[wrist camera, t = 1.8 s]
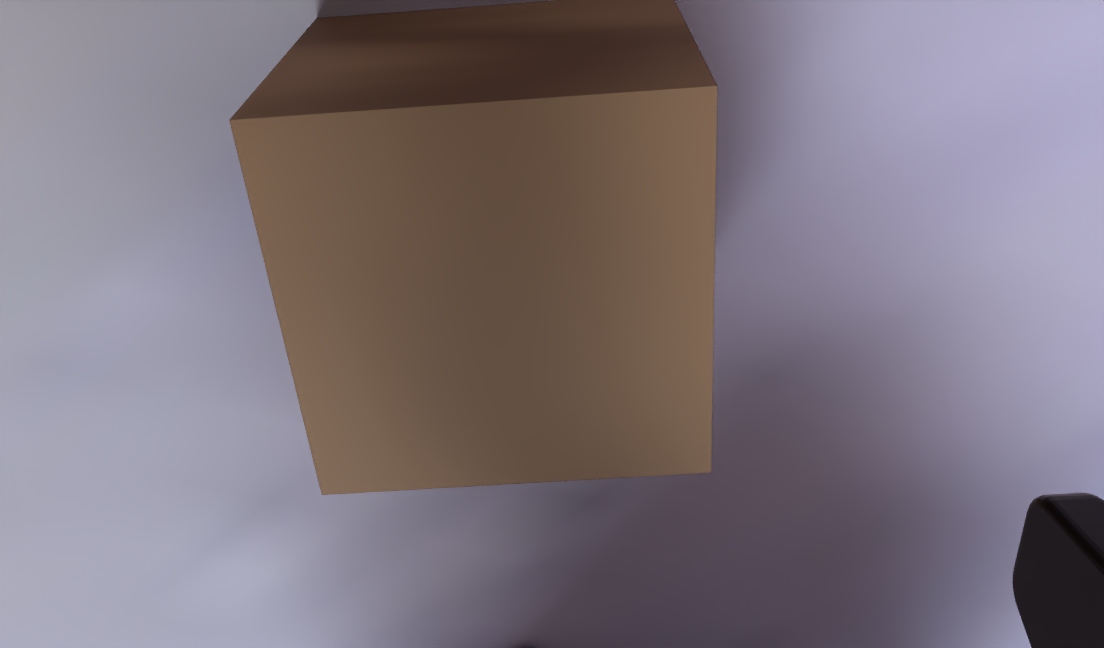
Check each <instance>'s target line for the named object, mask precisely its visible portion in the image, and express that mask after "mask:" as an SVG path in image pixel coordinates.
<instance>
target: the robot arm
mask: <svg viewBox="0 0 1104 648" xmlns="http://www.w3.org/2000/svg"><path fill="white" fill-rule="evenodd" d="M1013 591H1014V596H1015V601H1016V604H1017V607H1018V610H1019V613H1020V616H1021V619H1022V622H1023V624H1024V627H1025V630H1026V633H1027V636H1028V639H1029V642H1030V644H1031V647H1032V648H1104V500H1103V499H1101V498H1099V497H1097V496H1095V495H1092V494H1088V493H1069V494H1051V495H1042V496H1039V497H1037V498H1035V499H1034V500H1033V501H1032V503H1031V504H1030V506H1029V508H1028V511H1027V515H1026V519H1025V523H1024V527H1023V532H1022V536H1021V540H1020V544H1019V549H1018V553H1017V557H1016V562H1015V566H1014V571H1013Z"/></svg>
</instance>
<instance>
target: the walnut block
mask: <svg viewBox="0 0 1104 648" xmlns="http://www.w3.org/2000/svg"><path fill="white" fill-rule="evenodd" d="M230 124H231V128H232V133H233V137H234V141H235V145H236V149H237V153H238V157H239V161H240V165H241V169H242V173H243V177H244V181H245V185H246V189H247V193H248V197H249V201H250V206H251V210H252V214H253V218H254V222H255V226H256V230H257V234H258V238H259V242H260V246H261V250H262V254H263V258H264V262H265V266H266V270H267V274H268V279H269V283H270V287H271V291H272V295H273V299H274V303H275V307H276V311H277V315H278V319H279V323H280V327H281V331H282V335H283V339H284V343H285V347H286V352H287V356H288V360H289V364H290V368H291V372H292V376H293V380H294V384H295V388H296V392H297V396H298V400H299V404H300V408H301V412H302V416H303V420H304V425H305V429H306V433H307V437H308V441H309V445H310V449H311V453H312V457H313V461H314V465H315V469H316V473H317V477H318V481H319V485H320V489H321V493H322V495H328V494H345V493H363V492H380V491H398V490H415V489H432V488H450V487H467V486H485V485H502V484H520V483H537V482H555V481H572V480H589V479H607V478H624V477H642V476H659V475H677V474H694V473H711V456H712V393H713V329H714V265H715V202H716V138H717V84H716V82H715V80H714V78H713V76H712V74H711V72H710V70H709V68H708V66H707V64H706V62H705V60H704V58H703V56H702V54H701V52H700V50H699V48H698V46H697V44H696V42H695V40H694V38H693V36H692V34H691V32H690V30H689V28H688V26H687V24H686V22H685V20H684V18H683V16H682V15H681V13H680V11H679V9H678V7H677V5H676V3H675V1H674V0H557V1H543V2H530V3H516V4H502V5H489V6H475V7H462V8H448V9H435V10H421V11H408V12H394V13H380V14H367V15H353V16H340V17H326V18H317V19H316V20H315V21H314V22H313V23H312V24H311V26H310V27H309V28H308V29H307V30H306V31H305V33H304V34H303V35H302V36H301V37H300V38H299V40H298V41H297V42H296V43H295V44H294V45H293V47H292V48H291V49H290V50H289V51H288V52H287V54H286V55H285V56H284V57H283V58H282V59H281V61H280V62H279V63H278V64H277V65H276V66H275V68H274V69H273V70H272V71H271V72H270V73H269V75H268V76H267V77H266V78H265V79H264V80H263V82H262V83H261V84H260V85H259V86H258V87H257V89H256V90H255V91H254V92H253V93H252V94H251V96H250V97H249V98H248V99H247V100H246V101H245V103H244V104H243V105H242V106H241V107H240V108H239V110H238V111H237V112H236V113H235V114H234V115H233V117H232V118H231V119H230Z"/></svg>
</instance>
